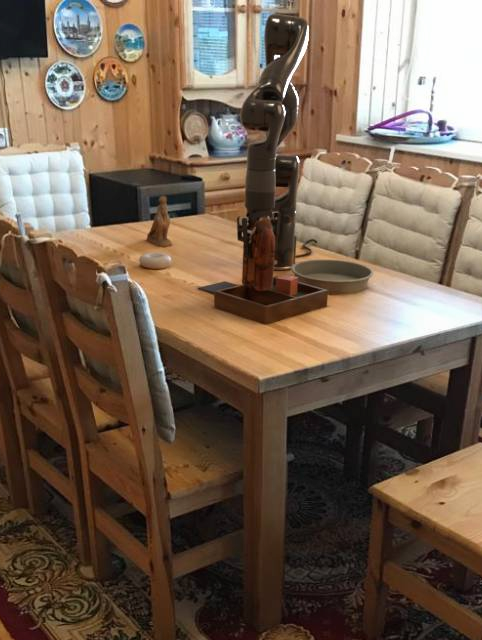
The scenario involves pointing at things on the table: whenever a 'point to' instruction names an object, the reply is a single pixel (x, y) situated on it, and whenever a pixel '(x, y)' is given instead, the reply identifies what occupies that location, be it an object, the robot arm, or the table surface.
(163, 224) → the worn brown figurine
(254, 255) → the wooden figurine
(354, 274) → the cake pan
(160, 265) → the donut
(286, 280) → the terracotta block
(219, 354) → the table surface
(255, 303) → the walnut tray
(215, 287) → the rubber mat
